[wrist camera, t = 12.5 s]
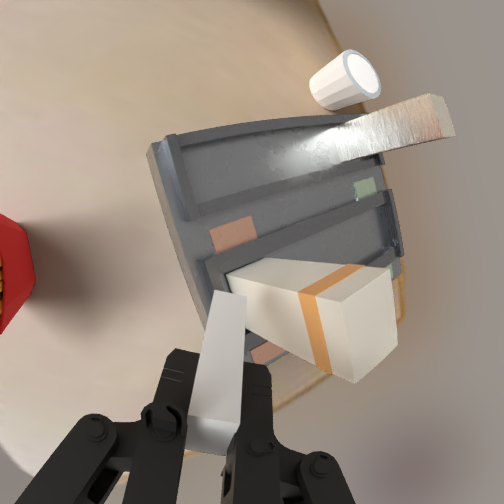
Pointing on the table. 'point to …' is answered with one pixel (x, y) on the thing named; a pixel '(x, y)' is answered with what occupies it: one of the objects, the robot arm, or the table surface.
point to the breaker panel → (287, 195)
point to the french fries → (13, 270)
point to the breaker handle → (321, 312)
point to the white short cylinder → (345, 81)
